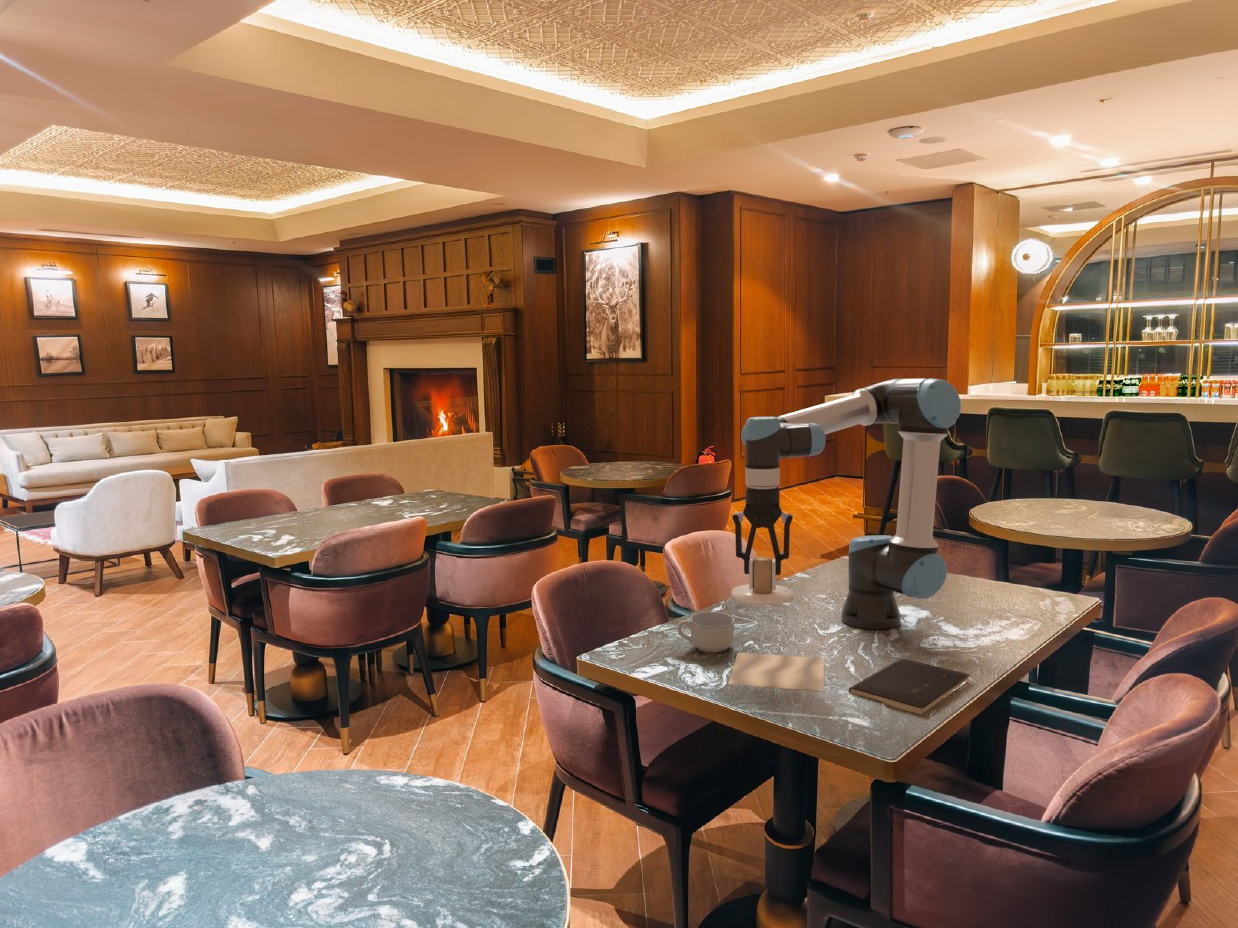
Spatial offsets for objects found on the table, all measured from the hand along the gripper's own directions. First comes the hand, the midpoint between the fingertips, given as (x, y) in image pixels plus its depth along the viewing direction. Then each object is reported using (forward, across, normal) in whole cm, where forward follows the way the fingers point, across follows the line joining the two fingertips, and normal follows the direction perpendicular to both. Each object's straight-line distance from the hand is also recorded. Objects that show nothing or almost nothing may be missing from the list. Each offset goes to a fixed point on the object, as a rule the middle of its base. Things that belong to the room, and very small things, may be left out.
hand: (762, 588), depth 186 cm
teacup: (+19, +14, -10) cm, 26 cm away
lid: (+2, 0, 0) cm, 2 cm away
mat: (+19, -4, +2) cm, 19 cm away
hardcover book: (+19, -31, +7) cm, 37 cm away
